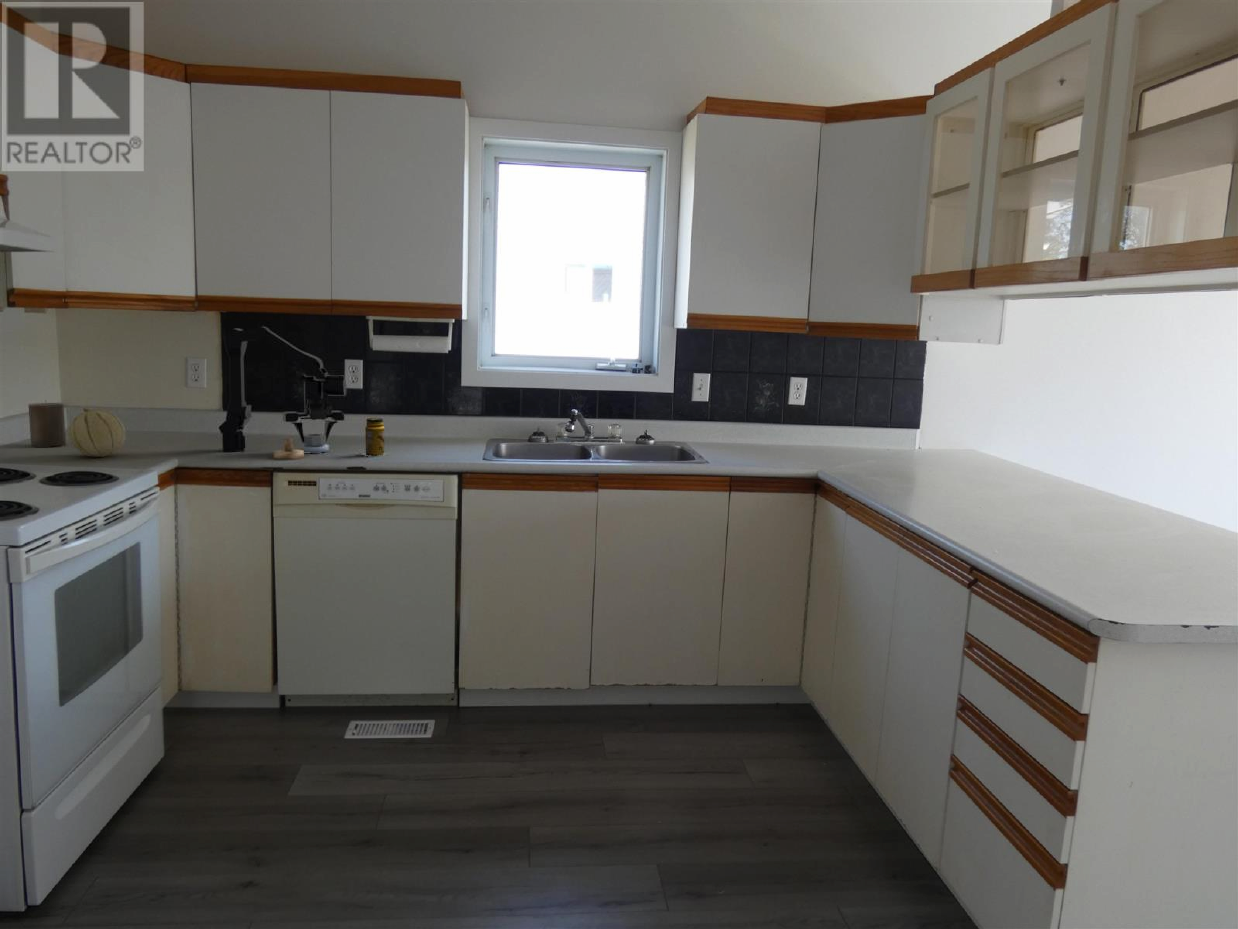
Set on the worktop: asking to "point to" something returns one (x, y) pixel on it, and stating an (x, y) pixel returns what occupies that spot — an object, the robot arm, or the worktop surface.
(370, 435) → the condiment
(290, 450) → the stand
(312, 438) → the ring
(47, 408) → the pillar candle
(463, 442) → the worktop surface
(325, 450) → the hub
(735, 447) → the worktop surface
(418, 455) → the worktop surface
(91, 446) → the cantaloupe
